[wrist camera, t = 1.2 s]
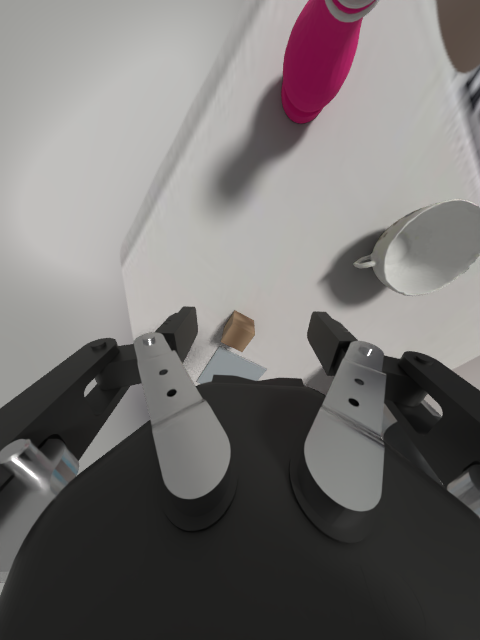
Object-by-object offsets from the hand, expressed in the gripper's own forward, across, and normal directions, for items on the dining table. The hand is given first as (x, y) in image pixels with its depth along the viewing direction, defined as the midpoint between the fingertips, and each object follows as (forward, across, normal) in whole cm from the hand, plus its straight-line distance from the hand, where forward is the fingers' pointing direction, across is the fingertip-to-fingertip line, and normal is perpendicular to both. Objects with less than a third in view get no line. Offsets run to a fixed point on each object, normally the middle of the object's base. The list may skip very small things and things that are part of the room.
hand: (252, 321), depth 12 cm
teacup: (+24, -24, -3) cm, 34 cm away
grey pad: (+24, +4, +29) cm, 38 cm away
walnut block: (+24, +2, +13) cm, 27 cm away
